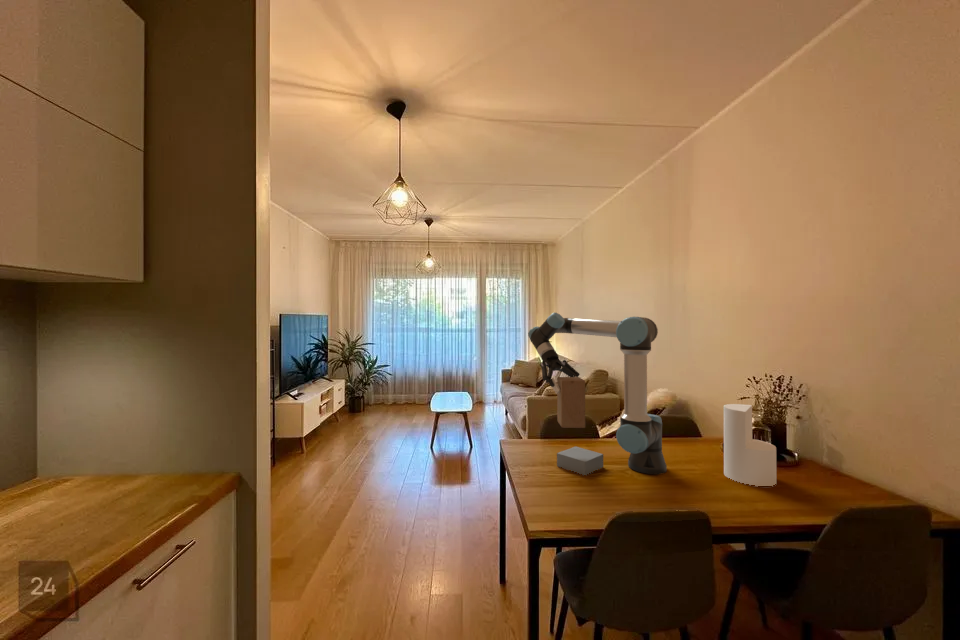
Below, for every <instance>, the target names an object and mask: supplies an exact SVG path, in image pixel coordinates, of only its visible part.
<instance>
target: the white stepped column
mask: <svg viewBox="0 0 960 640" xmlns="http://www.w3.org/2000/svg"><path fill="white" fill-rule="evenodd" d="M723 475H724V476H725V477H726V478H728V479H729V478H730V480H731V479H732V480H731V481H733V480H734V482H736V481H737V482H736V483H739V482H740V484H742V483H744V484H743V485H746V484H749V485H748V486H751V485H755V486H754V487H758V486H772V487H774V486H773V485H775V484H776V485H777V447H776V445H774V444H771V443H770V442H768V441H767V442H766V441H764V440H759V439H754V438H753V405H752V404H743V403H728V404H724V405H723ZM776 485H775V486H776Z"/></svg>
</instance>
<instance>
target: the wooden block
mask: <svg viewBox="0 0 960 640" xmlns="http://www.w3.org/2000/svg"><path fill="white" fill-rule="evenodd" d="M556 380H557V382H556V383H557V385H558V387H559V388H560V391H559V393H558V394H556V395H557V396H556V397H557V400H556V401H557V403H556V404H557V406H556V407H557V408H556V409H557V411H556V413H557V420H556V421H557V422H558V424H559V425H560V427H561V428H564V429H565V428H566V429H567V428H569V429H570V428H573V429H574V428H575V429H578V428H579V429H581V428H583V429H585V428H586V380H585V379H583V378H581V377H580V376H578V377H569V376H558V377H557V379H556Z"/></svg>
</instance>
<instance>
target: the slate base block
mask: <svg viewBox="0 0 960 640" xmlns="http://www.w3.org/2000/svg"><path fill="white" fill-rule="evenodd" d="M556 467H558V468H561V467H562V468H561V469H564V470H567V471H569V470H571V471H570V472H572V471H574V472H573V473H575V472H577V473H576V474H578V473H579V474H578V475H581V474H582V476H584V475H586V476H588V475H590V474H592V473H594V472H593V471H595V470H597V471H599V470H601V469H603V468H604V454H603V453H600V452H597V451H593V450H590V449H586V448H583V447H579V446H573V447H570V448H568V449H565V450H561V451H559V452H556ZM602 467H603V468H602ZM600 468H601V469H600ZM598 469H599V470H598ZM591 472H592V473H591ZM595 472H596V471H595ZM589 473H590V474H589ZM587 474H588V475H587Z"/></svg>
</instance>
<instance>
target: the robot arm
mask: <svg viewBox="0 0 960 640" xmlns="http://www.w3.org/2000/svg"><path fill="white" fill-rule="evenodd" d="M658 331H659V329H658V326H657V324H656V322H655V321H653V320H652V319H650V318H648V317H642V316H630V317H625V318H624V319H622V320H609V319H608V320H607V319H593V318H592V319H591V318H590V319H589V318H571V317H563V315H561V314H560V313H557V312H552V313H551V314H550V315H548V316H547V318H546V319H545V320H544V322H543V323H542V324H541V325H540V326H534V327H533V328H530V329H529V330H528V332H527V334H528V335H527V336H528V338H529V340H530V342H531V343H532V345H533V347H534V348H535V350H536V352H537V354H538V355H539V358H541V360H542V362H541V363H540V365H539V366H540V368H541V373H542V374H541V375H542V376H541V378H542V381H543V382H545V383H546V384H549V386H550V387H551V388H552V389H553V391H554V393H555V394H556V395H557V394H558V393H559V391H560V388H559V387H558V385H557V382H556V379H554V377H553V372H556V371H559V372H561V373H563V374H564V375H567V377H580V375H581V374H580V373H579V372H578V370H576V369H575V368H574V367H572V366H571V364H569V363H568V362H567V360H565V359H564V360H563V361H561V360H560V359H559V355H558V353H557V352H556V350H555V348H554V346H553V345H552V343H551V342H550V340H551V338H553V336H554V335H555V334H570V335H571V334H572V335H573V334H576V335H584V336H585V335H586V336H588V335H589V336H596V337H606V338H607V337H610V338H616V339H617V340H618V341H619V343H620V344H619V345H620V346H619V350H620V351H621V352H622V353H623V355H624V356H623V374H624V376H623V377H624V379H623V386H624V387H623V395H624V396H623V400H624V401H623V402H624V403H623V405H624V406H623V413H622V414H621V415H620V419H619V422H620V426H619V427H618V429H617V430H616V432H615V433H616V434H615V437H616V441H617V444H618V445H619V446H620V447H621V448H622V449H623V450H624V451H625V452H628V453H629V457H628V460H627V465H628V467H629V468H630V469H631V470H634V471H636V472H638V473H642V474H647V475H648V474H649V475H661V474H662V475H663V474H665V473H666V472H667V468H668V467H667V463H666V461H665V457H664V454H663V422H662V421H663V420H662V417H661V416H660V415H657V414H651V413H648V354H649V353H650V352H651V351H652V342H654V341H655V339H656V338H657V336H658V333H659V332H658ZM547 368H548V369H547Z"/></svg>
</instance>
